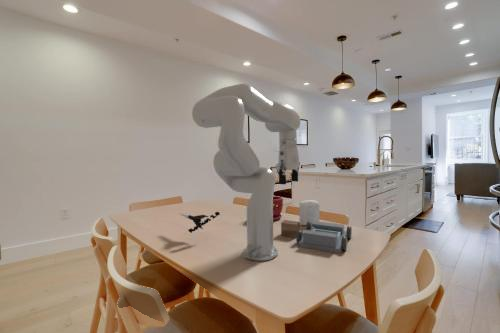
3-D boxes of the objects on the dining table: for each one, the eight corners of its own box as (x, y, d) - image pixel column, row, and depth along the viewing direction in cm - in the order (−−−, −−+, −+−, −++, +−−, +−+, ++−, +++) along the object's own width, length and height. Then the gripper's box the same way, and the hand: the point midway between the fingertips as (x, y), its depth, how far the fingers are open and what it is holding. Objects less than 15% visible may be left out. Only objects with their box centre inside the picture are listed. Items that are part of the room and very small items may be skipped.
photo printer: (317, 222, 128) (317, 198, 127) (320, 224, 124) (320, 200, 123) (298, 223, 127) (298, 199, 126) (301, 226, 122) (300, 201, 122)
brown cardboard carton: (296, 238, 106) (296, 224, 105) (281, 235, 109) (281, 222, 109) (299, 235, 109) (299, 221, 109) (284, 232, 113) (284, 219, 113)
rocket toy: (190, 218, 97) (165, 209, 114) (191, 234, 97) (165, 223, 114) (220, 212, 107) (193, 204, 124) (220, 226, 107) (193, 217, 124)
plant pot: (286, 220, 132) (286, 198, 132) (262, 222, 130) (262, 200, 129) (279, 214, 145) (279, 194, 144) (257, 216, 143) (257, 195, 142)
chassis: (344, 254, 88) (344, 239, 88) (295, 245, 97) (295, 232, 96) (352, 235, 107) (352, 223, 107) (310, 229, 116) (310, 218, 116)
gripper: (283, 144, 99) (284, 186, 100) (305, 143, 111) (306, 180, 113) (269, 144, 104) (270, 184, 105) (291, 144, 117) (292, 179, 118)
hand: (288, 182), depth 109 cm, fingers open, 9 cm apart
